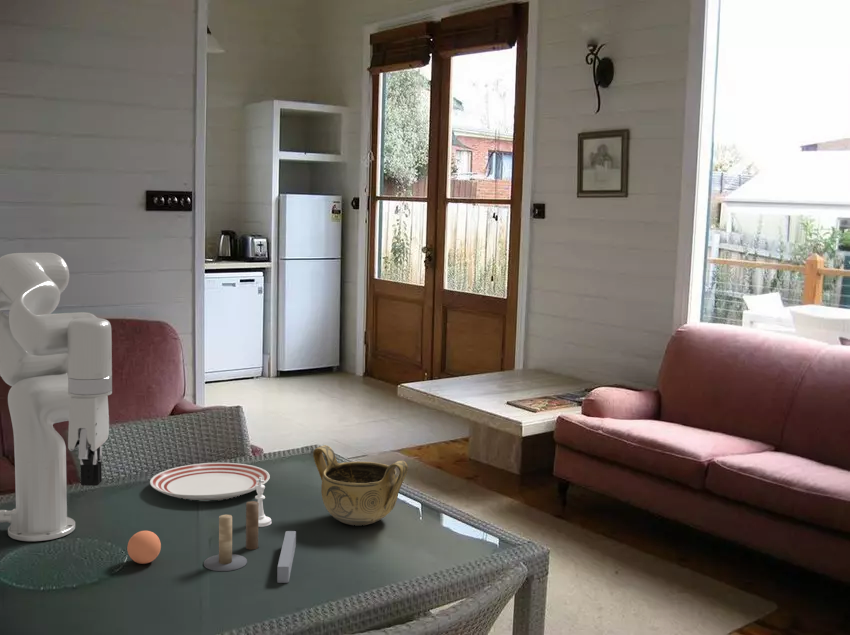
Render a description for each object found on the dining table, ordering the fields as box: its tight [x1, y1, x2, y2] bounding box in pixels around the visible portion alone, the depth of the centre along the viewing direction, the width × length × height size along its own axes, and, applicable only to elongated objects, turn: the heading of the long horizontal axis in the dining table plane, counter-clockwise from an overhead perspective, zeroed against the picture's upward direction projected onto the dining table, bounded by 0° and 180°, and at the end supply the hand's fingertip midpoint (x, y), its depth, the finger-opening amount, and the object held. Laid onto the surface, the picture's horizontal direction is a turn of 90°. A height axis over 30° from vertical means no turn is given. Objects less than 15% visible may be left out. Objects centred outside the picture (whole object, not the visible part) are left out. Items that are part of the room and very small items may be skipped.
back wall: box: [276, 530, 297, 584], centre depth 175 cm, size 2×18×3 cm, turn 4°
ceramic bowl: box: [312, 444, 409, 527], centre depth 199 cm, size 22×17×15 cm
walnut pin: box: [245, 500, 259, 551], centre depth 182 cm, size 2×2×9 cm
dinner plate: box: [149, 462, 271, 501], centre depth 218 cm, size 27×27×3 cm
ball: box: [126, 530, 162, 565], centre depth 173 cm, size 6×6×6 cm
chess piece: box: [254, 477, 272, 528], centre depth 196 cm, size 5×5×10 cm
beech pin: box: [218, 514, 233, 564], centre depth 174 cm, size 2×2×9 cm
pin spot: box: [203, 553, 248, 572], centre depth 174 cm, size 8×8×1 cm
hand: (91, 483), depth 171 cm, fingers closed
